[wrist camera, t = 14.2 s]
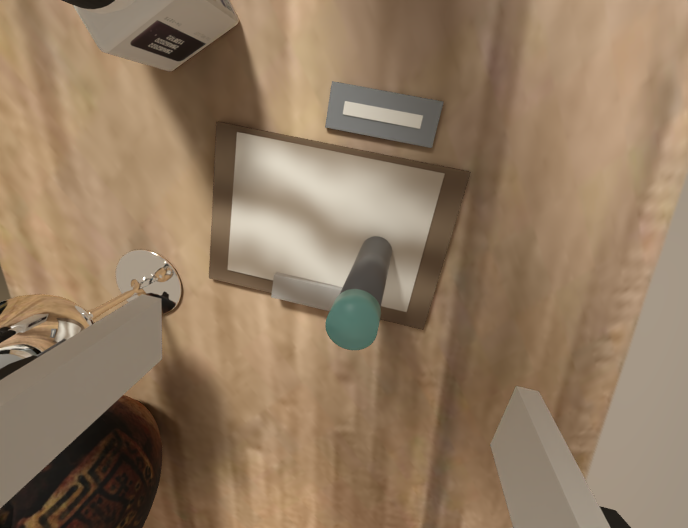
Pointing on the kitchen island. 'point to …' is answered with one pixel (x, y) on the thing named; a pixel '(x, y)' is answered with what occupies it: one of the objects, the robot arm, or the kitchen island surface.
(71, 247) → the kitchen island surface
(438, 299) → the kitchen island surface
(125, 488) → the ceramic vessel
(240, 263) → the clipboard
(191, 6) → the container
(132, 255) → the wineglass
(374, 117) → the plate
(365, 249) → the marker
